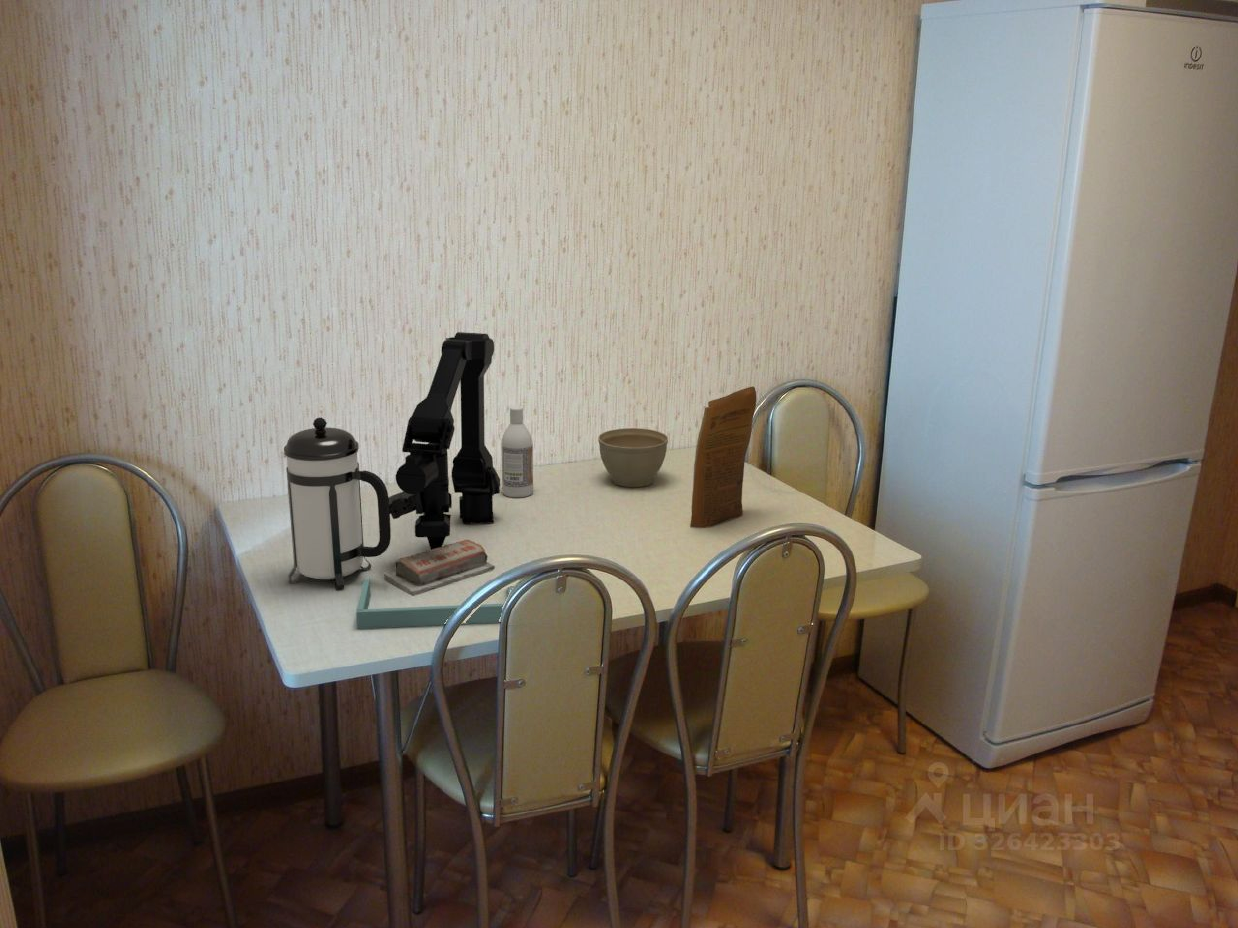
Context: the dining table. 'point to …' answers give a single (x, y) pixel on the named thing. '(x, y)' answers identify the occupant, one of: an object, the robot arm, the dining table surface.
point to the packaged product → (439, 567)
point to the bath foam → (517, 457)
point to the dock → (417, 613)
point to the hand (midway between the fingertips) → (435, 555)
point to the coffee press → (330, 504)
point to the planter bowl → (632, 455)
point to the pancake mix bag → (722, 458)
